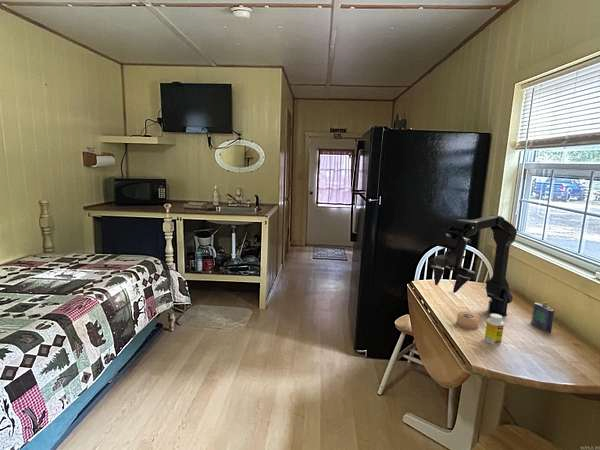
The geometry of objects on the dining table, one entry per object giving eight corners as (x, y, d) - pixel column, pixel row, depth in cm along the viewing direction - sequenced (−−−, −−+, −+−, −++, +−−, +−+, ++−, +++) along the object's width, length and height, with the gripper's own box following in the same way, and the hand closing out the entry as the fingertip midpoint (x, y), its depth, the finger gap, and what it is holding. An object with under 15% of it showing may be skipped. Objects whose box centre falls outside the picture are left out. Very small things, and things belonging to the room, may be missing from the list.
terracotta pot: (476, 322, 149) (477, 313, 148) (479, 331, 141) (481, 321, 140) (455, 319, 151) (456, 310, 150) (457, 327, 143) (458, 318, 143)
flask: (529, 322, 151) (533, 298, 149) (535, 322, 151) (539, 298, 149) (547, 332, 142) (551, 306, 140) (553, 332, 142) (558, 306, 140)
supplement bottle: (496, 346, 129) (499, 320, 127) (481, 340, 133) (484, 314, 132) (504, 343, 132) (507, 316, 130) (489, 336, 136) (492, 311, 135)
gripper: (424, 242, 147) (413, 278, 147) (462, 252, 130) (449, 293, 131) (443, 247, 152) (432, 282, 152) (481, 258, 135) (469, 297, 136)
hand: (444, 288), depth 143 cm, fingers open, 9 cm apart
